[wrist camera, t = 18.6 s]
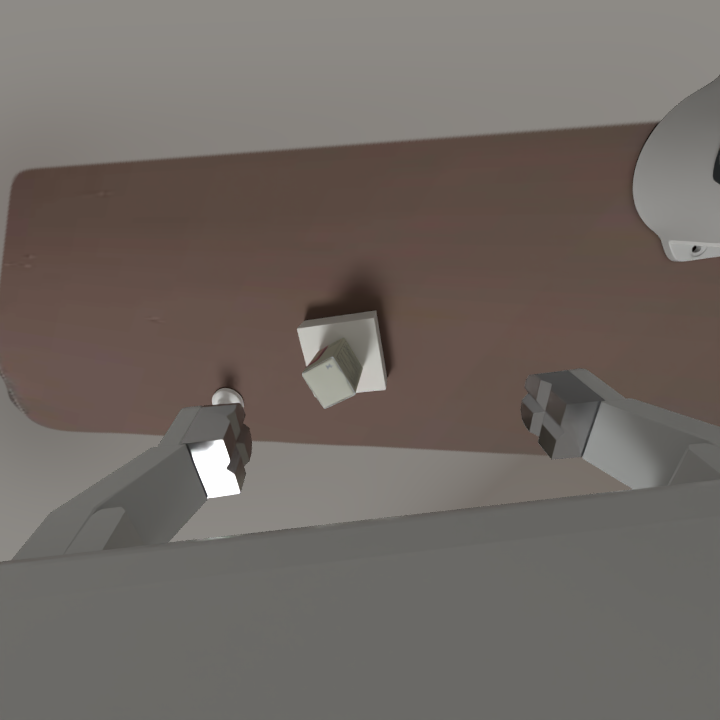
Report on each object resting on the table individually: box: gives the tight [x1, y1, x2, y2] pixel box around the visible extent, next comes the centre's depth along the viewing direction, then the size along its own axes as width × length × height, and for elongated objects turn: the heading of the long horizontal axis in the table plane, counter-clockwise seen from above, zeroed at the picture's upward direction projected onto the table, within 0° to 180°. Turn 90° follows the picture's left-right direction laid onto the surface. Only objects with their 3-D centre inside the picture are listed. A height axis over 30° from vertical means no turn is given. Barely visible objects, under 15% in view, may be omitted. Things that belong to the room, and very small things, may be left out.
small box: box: [302, 338, 363, 409], centre depth 41 cm, size 5×4×8 cm
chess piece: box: [212, 388, 244, 407], centre depth 49 cm, size 5×5×10 cm
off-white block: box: [297, 310, 387, 397], centre depth 47 cm, size 10×10×4 cm
